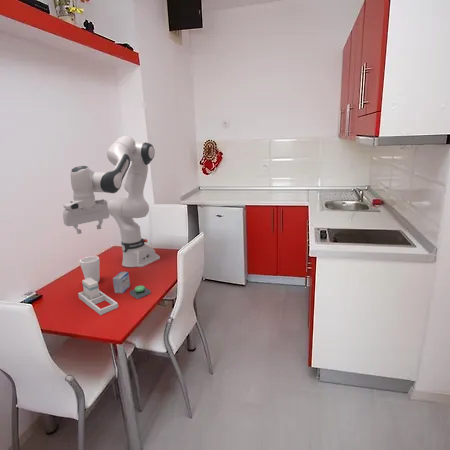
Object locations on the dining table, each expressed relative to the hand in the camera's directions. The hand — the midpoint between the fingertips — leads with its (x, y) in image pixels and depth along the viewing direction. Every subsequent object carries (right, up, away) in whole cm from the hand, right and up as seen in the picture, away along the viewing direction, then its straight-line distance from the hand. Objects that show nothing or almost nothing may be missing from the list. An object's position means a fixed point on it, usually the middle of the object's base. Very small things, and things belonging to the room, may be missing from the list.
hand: (89, 231), depth 152 cm
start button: (+24, -31, +1) cm, 39 cm away
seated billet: (+2, -32, 0) cm, 32 cm away
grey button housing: (+24, -31, +1) cm, 39 cm away
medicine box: (+13, -30, +8) cm, 34 cm away
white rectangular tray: (+6, -33, -4) cm, 34 cm away
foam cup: (-6, -28, +18) cm, 34 cm away
